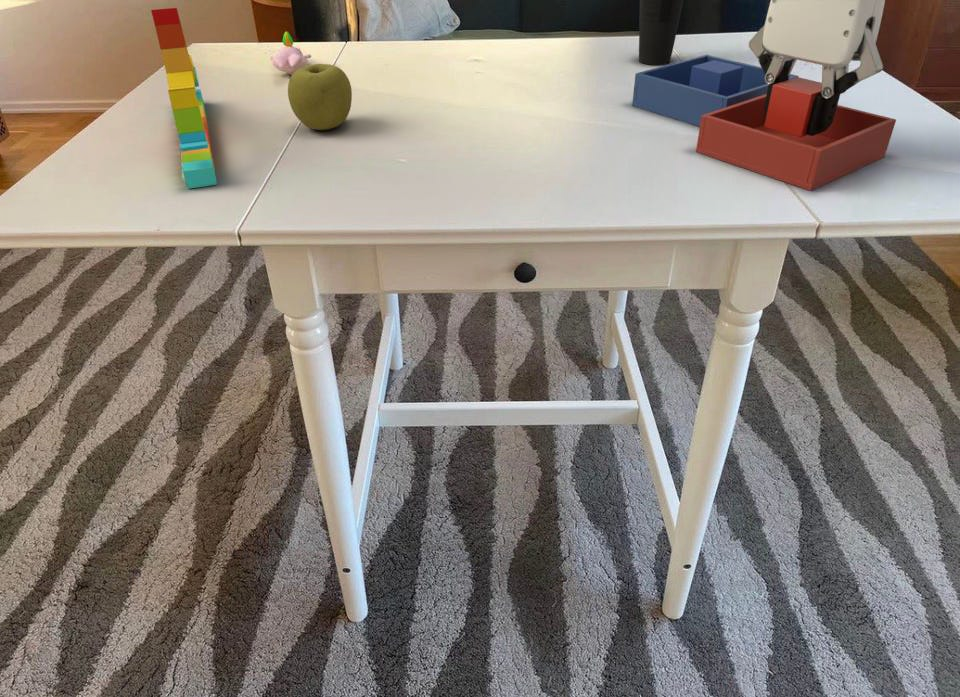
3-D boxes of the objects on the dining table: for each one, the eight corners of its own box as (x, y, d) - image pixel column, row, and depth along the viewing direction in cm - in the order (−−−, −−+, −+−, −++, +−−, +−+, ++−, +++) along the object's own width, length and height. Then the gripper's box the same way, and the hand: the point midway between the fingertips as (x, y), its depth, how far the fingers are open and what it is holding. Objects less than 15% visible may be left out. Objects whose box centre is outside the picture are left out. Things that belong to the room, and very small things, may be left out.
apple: (288, 139, 87) (277, 77, 83) (301, 117, 93) (292, 59, 89) (350, 138, 87) (343, 76, 83) (360, 116, 93) (353, 58, 89)
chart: (179, 106, 98) (147, -16, 90) (203, 103, 99) (174, -18, 90) (185, 189, 75) (142, 35, 66) (217, 185, 76) (179, 32, 67)
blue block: (737, 103, 93) (744, 66, 90) (715, 110, 91) (721, 73, 88) (708, 95, 96) (714, 59, 93) (686, 102, 94) (691, 65, 91)
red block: (824, 128, 78) (836, 85, 75) (800, 138, 76) (811, 94, 73) (787, 118, 81) (797, 76, 78) (763, 127, 79) (772, 84, 76)
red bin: (884, 157, 79) (896, 119, 76) (810, 191, 72) (821, 151, 69) (771, 124, 88) (778, 89, 86) (695, 151, 81) (701, 115, 79)
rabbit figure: (275, 71, 117) (266, 80, 104) (268, 31, 114) (259, 35, 101) (314, 68, 118) (311, 77, 104) (308, 28, 115) (304, 32, 102)
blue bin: (791, 108, 93) (799, 75, 90) (721, 133, 86) (727, 98, 83) (701, 85, 102) (706, 54, 99) (631, 105, 95) (635, 73, 92)
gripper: (954, -64, 64) (888, 139, 74) (784, -78, 75) (749, 101, 85) (911, -56, 60) (849, 156, 71) (740, -72, 71) (708, 114, 82)
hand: (795, 124), depth 78 cm, fingers closed on red block, 4 cm apart
